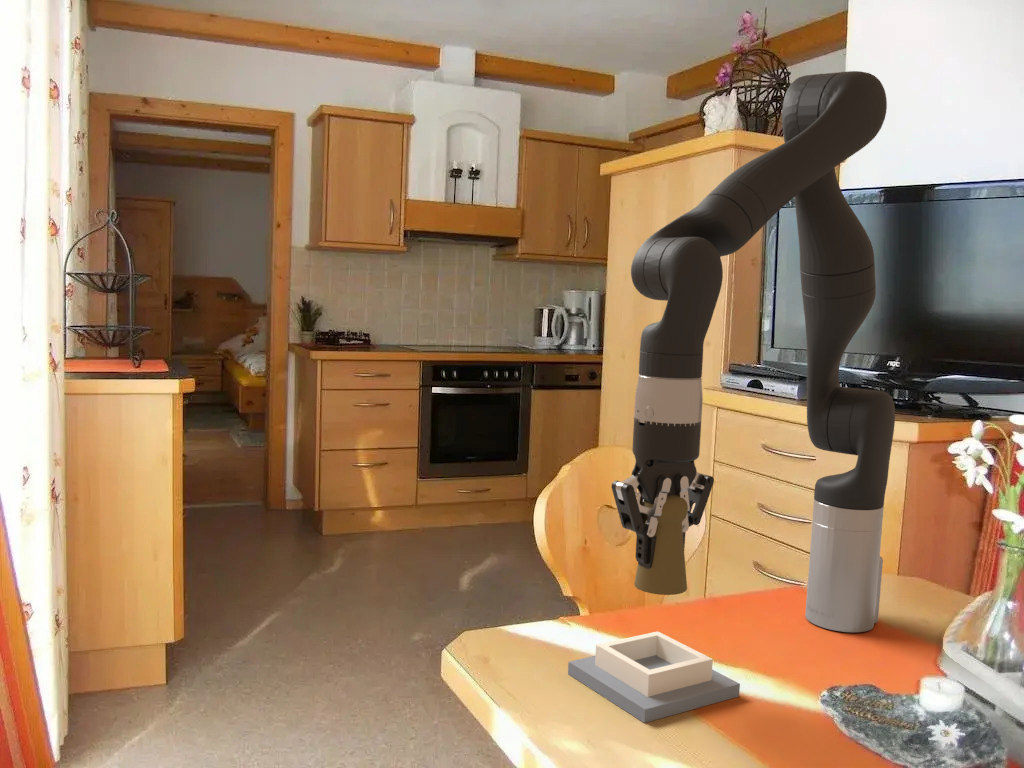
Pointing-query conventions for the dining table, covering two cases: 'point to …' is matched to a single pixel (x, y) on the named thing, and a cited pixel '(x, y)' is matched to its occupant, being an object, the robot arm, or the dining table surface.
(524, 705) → the dining table surface
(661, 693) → the board
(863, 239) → the robot arm
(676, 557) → the olive brown knobbed peg
